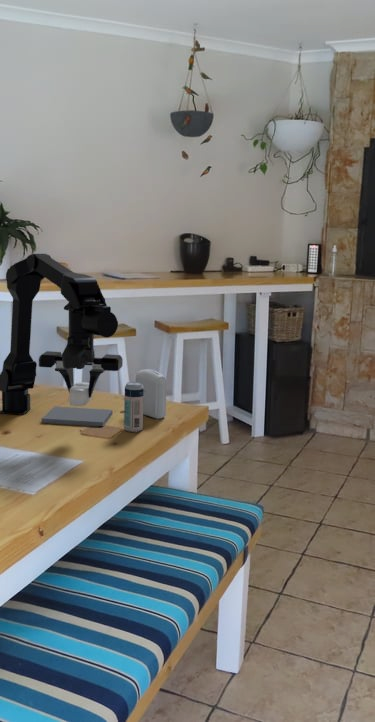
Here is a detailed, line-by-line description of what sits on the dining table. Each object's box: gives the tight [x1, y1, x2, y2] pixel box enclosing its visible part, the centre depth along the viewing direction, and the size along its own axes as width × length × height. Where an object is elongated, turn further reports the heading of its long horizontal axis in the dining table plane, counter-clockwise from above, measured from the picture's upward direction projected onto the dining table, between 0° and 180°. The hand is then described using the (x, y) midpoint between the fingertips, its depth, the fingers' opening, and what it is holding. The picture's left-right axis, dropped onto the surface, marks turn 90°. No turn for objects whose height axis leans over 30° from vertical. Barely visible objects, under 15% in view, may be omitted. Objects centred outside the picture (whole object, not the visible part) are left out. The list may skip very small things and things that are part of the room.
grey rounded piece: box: [69, 381, 93, 407], centre depth 164 cm, size 4×11×4 cm, turn 175°
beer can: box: [123, 381, 144, 433], centre depth 173 cm, size 5×5×12 cm
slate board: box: [41, 406, 114, 427], centre depth 182 cm, size 16×12×1 cm
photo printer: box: [135, 368, 167, 420], centre depth 187 cm, size 10×4×12 cm, turn 39°
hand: (80, 396), depth 163 cm, fingers closed on grey rounded piece, 4 cm apart
